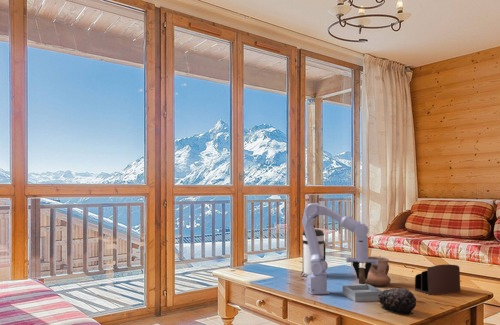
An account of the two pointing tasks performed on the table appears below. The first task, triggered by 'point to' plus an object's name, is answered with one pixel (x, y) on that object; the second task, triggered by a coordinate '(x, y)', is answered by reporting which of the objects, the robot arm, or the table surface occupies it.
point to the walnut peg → (362, 276)
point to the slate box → (361, 292)
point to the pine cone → (398, 301)
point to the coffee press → (307, 252)
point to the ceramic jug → (378, 272)
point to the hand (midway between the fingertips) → (362, 278)
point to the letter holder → (438, 280)
